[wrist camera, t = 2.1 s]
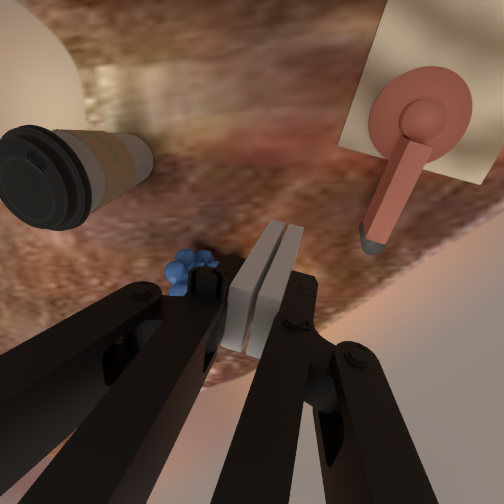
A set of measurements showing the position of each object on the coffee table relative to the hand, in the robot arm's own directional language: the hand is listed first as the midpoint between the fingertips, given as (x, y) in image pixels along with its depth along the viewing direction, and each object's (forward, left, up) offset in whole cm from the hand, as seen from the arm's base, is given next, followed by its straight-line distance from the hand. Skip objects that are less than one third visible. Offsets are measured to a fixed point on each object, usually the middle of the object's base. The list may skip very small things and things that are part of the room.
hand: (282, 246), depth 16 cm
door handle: (-4, +6, -15) cm, 17 cm away
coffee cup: (+5, -23, -21) cm, 31 cm away
